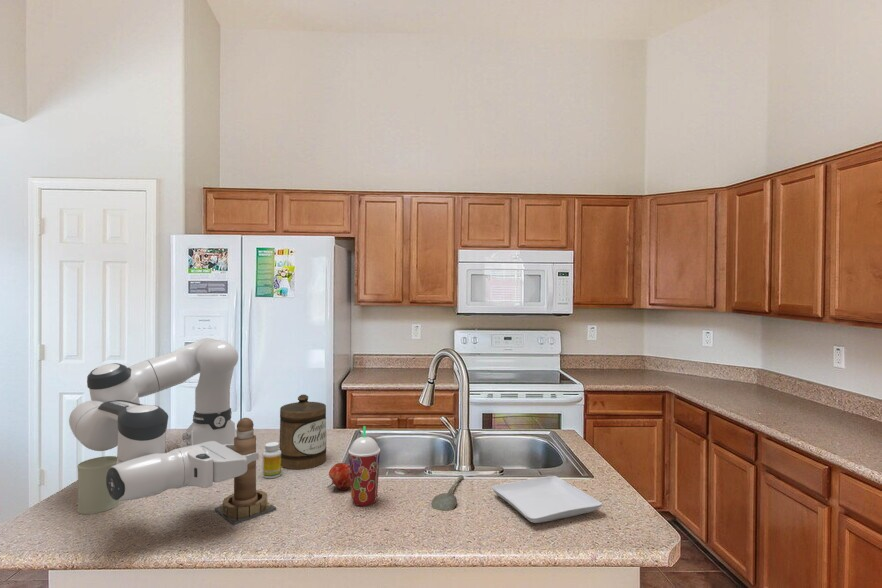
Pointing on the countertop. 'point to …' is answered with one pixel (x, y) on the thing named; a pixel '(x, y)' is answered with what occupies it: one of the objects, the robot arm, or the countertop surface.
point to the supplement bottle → (271, 460)
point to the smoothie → (364, 470)
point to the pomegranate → (340, 475)
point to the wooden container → (302, 434)
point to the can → (95, 485)
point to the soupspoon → (446, 499)
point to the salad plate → (546, 498)
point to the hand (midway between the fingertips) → (248, 450)
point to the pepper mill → (247, 481)
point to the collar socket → (244, 509)
